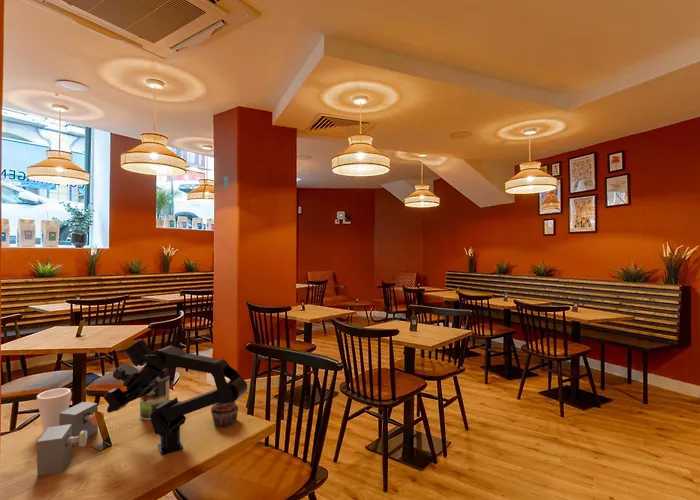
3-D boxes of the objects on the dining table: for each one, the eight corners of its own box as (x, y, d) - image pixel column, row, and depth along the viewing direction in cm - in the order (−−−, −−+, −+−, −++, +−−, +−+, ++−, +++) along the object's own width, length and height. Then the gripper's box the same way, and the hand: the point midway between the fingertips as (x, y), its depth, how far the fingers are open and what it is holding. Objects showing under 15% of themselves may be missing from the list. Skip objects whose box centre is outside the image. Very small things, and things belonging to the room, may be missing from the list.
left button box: (72, 455, 123) (71, 424, 123) (62, 472, 115) (61, 438, 115) (49, 459, 121) (48, 427, 121) (37, 476, 113) (36, 441, 113)
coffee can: (156, 422, 146) (155, 384, 146) (133, 418, 149) (133, 380, 149) (176, 410, 156) (175, 374, 155) (154, 406, 159) (154, 371, 158)
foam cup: (44, 439, 133) (43, 400, 133) (32, 431, 138) (32, 394, 138) (76, 427, 141) (75, 391, 141) (64, 421, 146) (63, 386, 146)
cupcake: (239, 425, 144) (239, 398, 143) (211, 430, 140) (211, 402, 140) (237, 414, 153) (237, 388, 152) (210, 418, 149) (210, 391, 149)
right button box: (97, 431, 139) (97, 403, 138) (75, 445, 130) (75, 414, 129) (82, 430, 140) (82, 401, 139) (59, 443, 131) (59, 413, 130)
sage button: (87, 441, 123) (87, 427, 122) (83, 449, 118) (82, 434, 118) (63, 445, 121) (63, 430, 120) (58, 452, 116) (58, 437, 116)
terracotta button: (104, 422, 135) (103, 409, 135) (93, 428, 131) (93, 415, 131) (88, 420, 136) (88, 408, 136) (77, 426, 132) (77, 413, 132)
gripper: (150, 349, 139) (123, 378, 142) (108, 366, 121) (78, 399, 124) (171, 373, 138) (143, 402, 141) (131, 394, 120) (100, 426, 122)
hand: (117, 406), depth 132 cm, fingers open, 8 cm apart
